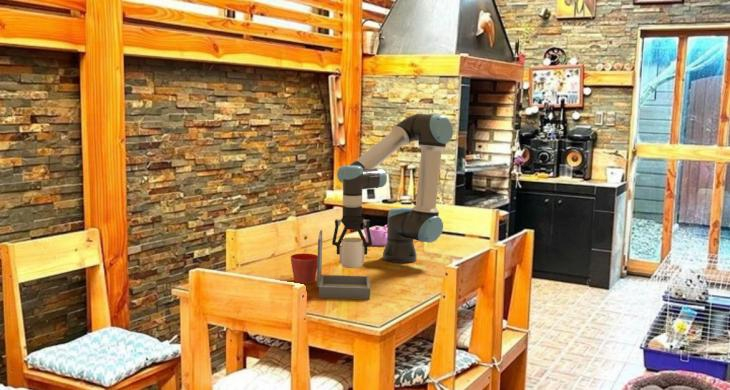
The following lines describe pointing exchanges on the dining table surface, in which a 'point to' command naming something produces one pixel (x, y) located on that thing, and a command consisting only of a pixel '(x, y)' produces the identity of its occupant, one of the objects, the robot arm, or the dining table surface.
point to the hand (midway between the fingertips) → (351, 262)
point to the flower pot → (304, 267)
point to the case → (340, 282)
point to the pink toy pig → (377, 236)
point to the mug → (351, 252)
